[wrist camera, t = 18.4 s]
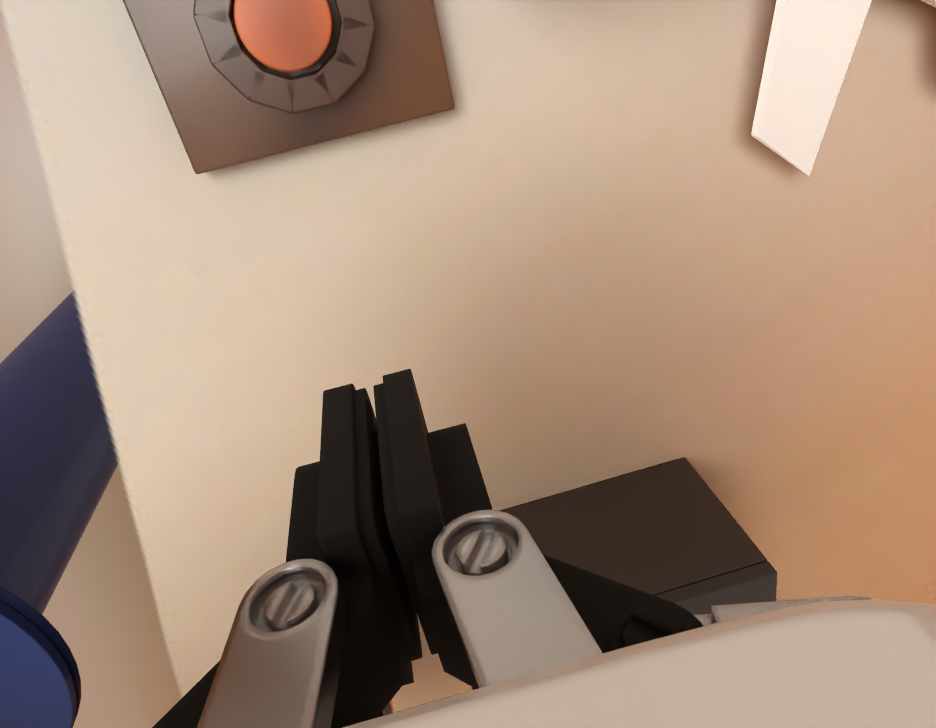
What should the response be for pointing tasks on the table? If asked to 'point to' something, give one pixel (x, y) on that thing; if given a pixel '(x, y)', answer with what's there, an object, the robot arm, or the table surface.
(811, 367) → the table surface
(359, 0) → the brown base plate
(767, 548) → the table surface
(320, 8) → the button
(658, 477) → the dark grey box
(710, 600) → the door
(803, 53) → the airplane model
